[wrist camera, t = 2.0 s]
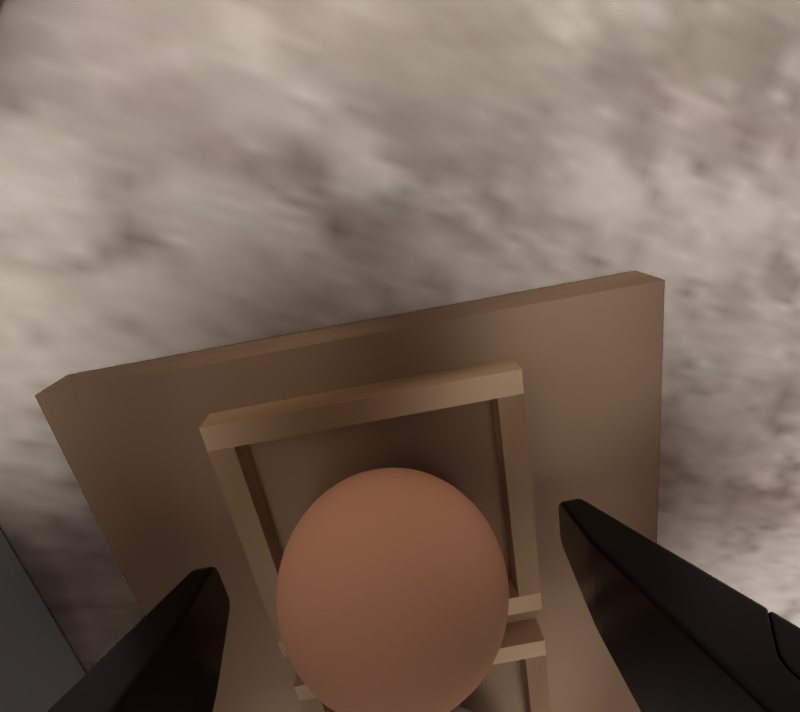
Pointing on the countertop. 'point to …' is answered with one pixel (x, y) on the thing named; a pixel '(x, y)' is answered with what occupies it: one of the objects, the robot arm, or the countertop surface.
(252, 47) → the countertop surface
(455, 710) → the grey ball
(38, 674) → the card
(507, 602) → the terracotta ball
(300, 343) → the rack
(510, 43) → the countertop surface
